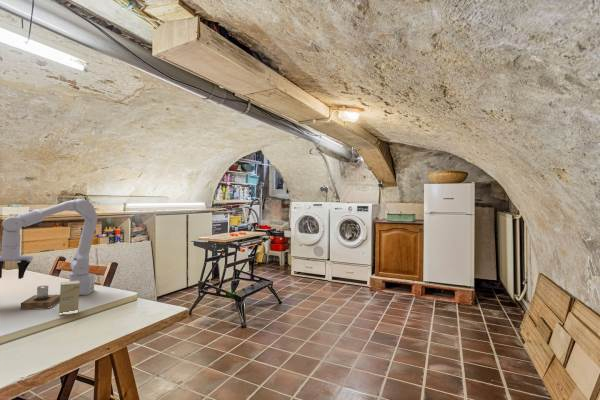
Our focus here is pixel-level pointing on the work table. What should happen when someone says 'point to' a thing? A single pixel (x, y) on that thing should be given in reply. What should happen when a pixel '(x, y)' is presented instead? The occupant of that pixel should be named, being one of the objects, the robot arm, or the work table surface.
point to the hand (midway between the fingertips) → (9, 278)
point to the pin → (42, 293)
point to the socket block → (40, 302)
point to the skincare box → (69, 296)
